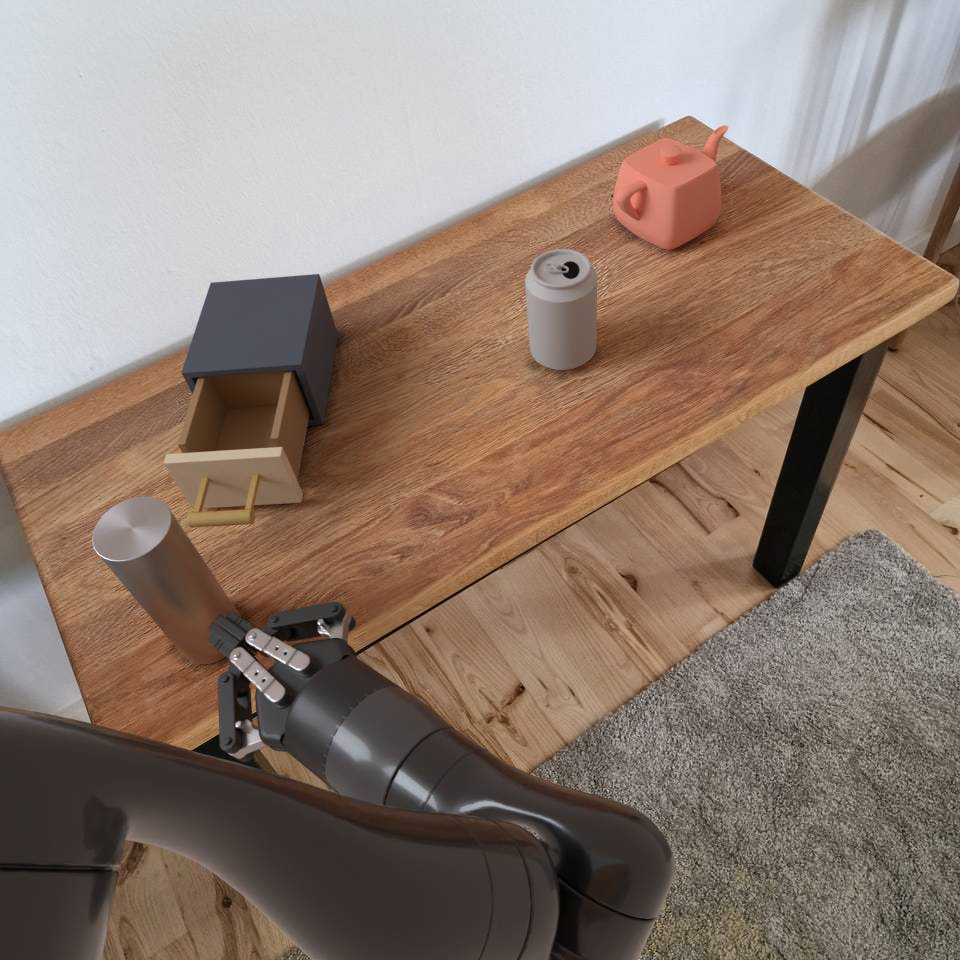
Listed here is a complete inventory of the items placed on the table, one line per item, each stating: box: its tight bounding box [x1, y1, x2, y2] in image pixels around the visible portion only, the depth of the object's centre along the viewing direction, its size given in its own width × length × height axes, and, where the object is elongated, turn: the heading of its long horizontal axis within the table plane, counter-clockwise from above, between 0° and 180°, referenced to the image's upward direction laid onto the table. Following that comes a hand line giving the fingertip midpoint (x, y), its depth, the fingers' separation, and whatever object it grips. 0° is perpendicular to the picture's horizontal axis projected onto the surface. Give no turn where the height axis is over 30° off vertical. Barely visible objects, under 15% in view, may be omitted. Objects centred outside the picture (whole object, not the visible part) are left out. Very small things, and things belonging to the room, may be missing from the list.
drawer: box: [163, 370, 310, 529], centre depth 83 cm, size 19×11×7 cm, turn 0°
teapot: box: [612, 124, 729, 251], centre depth 103 cm, size 12×18×10 cm, turn 126°
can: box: [524, 248, 598, 371], centre depth 89 cm, size 8×8×12 cm
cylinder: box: [91, 495, 242, 665], centre depth 69 cm, size 6×6×17 cm
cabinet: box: [180, 273, 339, 427], centre depth 92 cm, size 15×13×9 cm
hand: (219, 626), depth 63 cm, fingers closed
